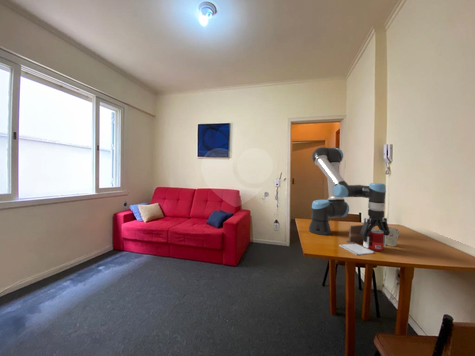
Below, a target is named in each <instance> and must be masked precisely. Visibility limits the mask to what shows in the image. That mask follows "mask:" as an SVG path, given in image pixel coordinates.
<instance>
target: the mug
mask: <svg viewBox="0 0 475 356" xmlns="http://www.w3.org/2000/svg"><path fill="white" fill-rule="evenodd" d="M388 228H389V232H390V234H389V235H388V236H387V235H386V246H389V247H396V246H397V243H398V238H399V236H400V229H399V228H396V227H391V226H388Z"/></svg>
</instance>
